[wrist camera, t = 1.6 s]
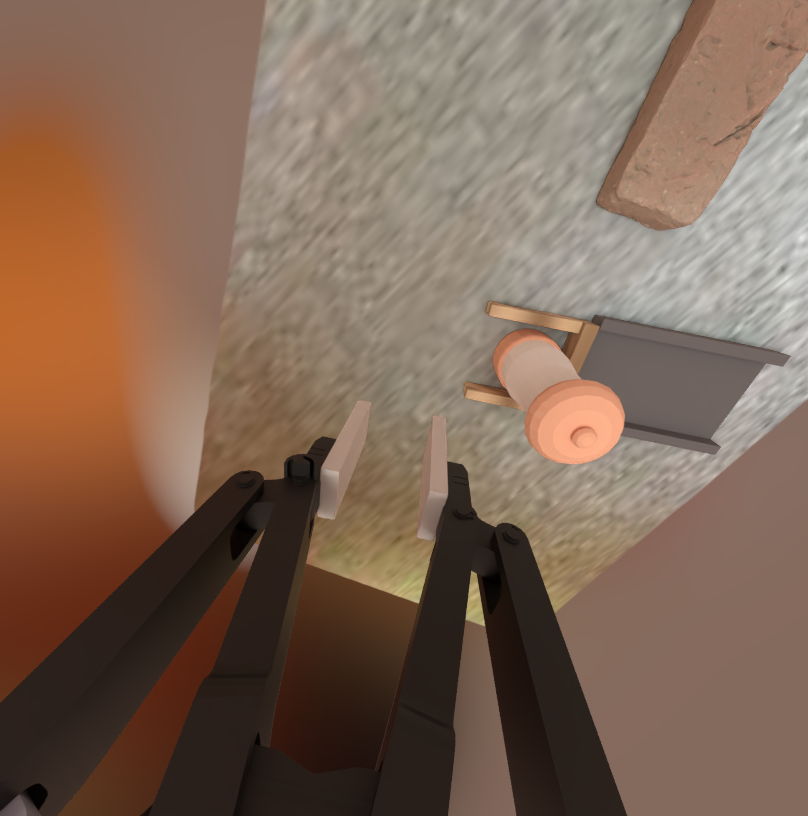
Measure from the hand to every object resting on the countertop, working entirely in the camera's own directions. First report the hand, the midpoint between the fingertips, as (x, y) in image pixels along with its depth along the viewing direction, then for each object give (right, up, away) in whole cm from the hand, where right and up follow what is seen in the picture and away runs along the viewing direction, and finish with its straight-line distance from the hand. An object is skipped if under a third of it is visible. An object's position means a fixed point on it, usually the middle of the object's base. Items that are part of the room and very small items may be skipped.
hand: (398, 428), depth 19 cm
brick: (+25, +27, +9) cm, 39 cm away
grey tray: (+31, +4, +20) cm, 37 cm away
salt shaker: (+15, +8, +20) cm, 26 cm away
